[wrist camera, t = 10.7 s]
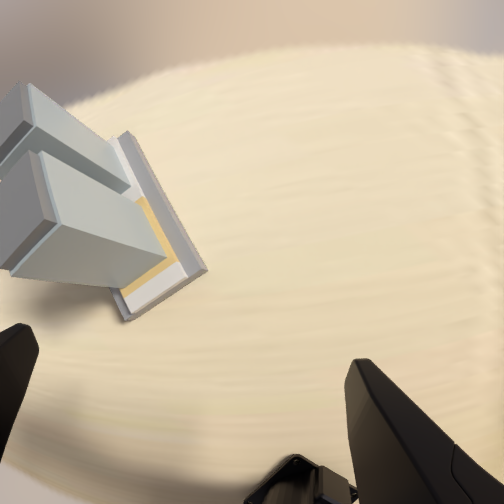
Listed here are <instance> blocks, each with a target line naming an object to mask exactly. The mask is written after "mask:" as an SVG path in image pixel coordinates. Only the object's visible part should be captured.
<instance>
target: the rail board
mask: <svg viewBox="0 0 504 504" xmlns="http://www.w3.org/2000/svg"><path fill="white" fill-rule="evenodd" d="M107 142H108V143H109V144H110V145H112V146H113V147H114V149H115V152H116V154H117V156H118V158H119V160H120V163H121V165H122V167H123V169H124V171H125V173H126V176H127V178H128V180H129V182H130V184H131V187H130V188H129V189H127V190H126V191H125V192H124V193H122V194H121V195H122V196H124V197H126V198H128V199H129V200H131V201H133V202H135V203H137V204H139V205H140V206H141V207H142V209H143V211H144V213H145V215H146V217H147V219H148V221H149V223H150V225H151V227H152V229H153V231H154V233H155V235H156V237H157V239H158V240H159V242H160V244H161V246H162V248H163V250H164V252H165V254H166V256H167V258H166V259H164V260H163V261H162V262H160V263H159V264H157V265H156V266H155V267H153V268H152V269H150V270H149V271H148V272H146V273H145V274H143V275H142V276H141V277H139V278H138V279H136V280H135V281H134V282H132V283H131V284H130V285H128V286H127V287H125V288H113V287H109V288H110V291H111V293H112V295H113V297H114V299H115V301H116V304H117V306H118V308H119V310H120V312H121V314H122V316H123V318H124V320H125V321H126V320H135V319H136V318H138V317H139V316H141V315H142V314H144V313H145V312H147V311H148V310H150V309H151V308H153V307H154V306H156V305H157V304H159V303H160V302H162V301H163V300H165V299H166V298H168V297H169V296H171V295H172V294H174V293H175V292H177V291H178V290H180V289H181V288H183V287H184V286H186V285H187V284H189V283H190V282H192V281H193V280H195V279H196V278H198V277H199V276H201V275H202V274H204V273H205V272H207V271H208V269H207V267H206V266H205V264H204V262H203V260H202V259H201V257H200V255H199V253H198V252H197V250H196V248H195V246H194V245H193V243H192V241H191V239H190V238H189V236H188V234H187V232H186V231H185V229H184V227H183V225H182V224H181V222H180V220H179V218H178V216H177V215H176V213H175V211H174V209H173V207H172V206H171V204H170V202H169V200H168V198H167V196H166V195H165V193H164V191H163V189H162V187H161V185H160V184H159V182H158V180H157V178H156V176H155V174H154V172H153V170H152V169H151V167H150V165H149V163H148V161H147V159H146V157H145V155H144V153H143V152H142V150H141V148H140V146H139V144H138V142H137V140H136V138H135V137H134V136H133V135H132V134H131V133H130V132H129V131H126V132H125V133H123V134H122V135H121V136H120V137H118V138H116V137H115V136H114V135H113V136H112V137H111V138H110V139H109V140H107Z"/></svg>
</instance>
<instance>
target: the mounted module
mask: <svg viewBox="0 0 504 504" xmlns="http://www.w3.org/2000/svg"><path fill="white" fill-rule="evenodd" d="M28 150H30V151H32V152H34V153H35V154H38V153H39V152H40V151H41V150H42V151H44V152H46V153H47V154H49V155H51V156H53V157H55V158H56V159H58V160H60V161H62V162H63V163H65V164H67V165H69V166H70V167H72V168H74V169H76V170H78V171H79V172H81V173H83V174H85V175H86V176H88V177H90V178H92V179H94V180H95V181H97V182H99V183H101V184H103V185H104V186H106V187H108V188H110V189H111V190H113V191H115V192H117V193H119V194H120V195H121V194H122V193H124V192H125V191H126V190H127V189H129V188H130V187H131V184H130V182H129V180H128V178H127V176H126V173H125V171H124V169H123V167H122V165H121V163H120V160H119V158H118V156H117V154H116V152H115V149H114V147H113V146H112V145H110V144H109V143H108V142H107V141H105V140H104V139H103V138H101V137H100V136H99V135H97V134H96V133H95V132H93V131H92V130H91V129H90V128H88V127H87V126H86V125H84V124H83V123H82V122H80V121H79V120H78V119H76V118H75V117H74V116H72V115H71V114H70V113H69V112H67V111H66V110H65V109H63V108H62V107H61V106H59V105H58V104H57V103H55V102H54V101H53V100H52V99H50V98H49V97H48V96H46V95H45V94H44V93H42V92H41V91H40V90H38V89H37V88H36V87H34V86H33V85H32V84H31V83H29V84H28V85H27V86H26V85H24V84H23V83H22V82H21V81H19V82H18V83H17V84H16V85H15V86H14V87H13V88H12V90H10V92H9V93H8V94H7V95H6V96H5V97H4V98H3V99H2V101H1V102H0V180H2V179H3V178H4V177H5V176H6V175H7V173H8V172H9V171H10V170H11V169H12V167H13V166H14V165H15V164H16V163H17V162H18V161H19V160H20V158H21V157H22V156H23V155H24V154H25V153H26V152H27V151H28Z"/></svg>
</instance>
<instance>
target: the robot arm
mask: <svg viewBox="0 0 504 504" xmlns="http://www.w3.org/2000/svg"><path fill="white" fill-rule="evenodd" d="M38 354H39V346H38V343H37V341H36V338H35V336H34V333H33V331H32V329H31V327H30V326H29V325H26V324H22V323H17V324H15V325H13V326H11V327H9V328H8V329H6V330H4V331H2V332H0V462H1V459H2V456H3V453H4V450H5V447H6V444H7V441H8V438H9V435H10V432H11V430H12V427H13V424H14V421H15V419H16V416H17V414H18V411H19V409H20V406H21V404H22V401H23V399H24V396H25V393H26V390H27V387H28V384H29V381H30V378H31V375H32V372H33V369H34V366H35V363H36V360H37V357H38ZM344 389H345V401H346V414H347V429H348V440H349V446H350V451H351V457H352V462H353V468H354V474H355V480H356V485H357V488H356V487H354V486H352V485H351V484H349V483H348V480H347V479H345V478H343V477H342V476H340V475H338V474H337V473H335V472H333V471H331V470H330V469H328V468H326V467H325V466H318V465H316V464H315V463H313V462H312V461H310V460H308V459H307V458H305V457H304V456H302V455H300V454H295V455H293V456H291V457H290V458H289V459H288V460H287V461H286V462H285V463H284V464H283V465H282V466H281V467H280V468H279V469H278V470H277V471H276V472H275V473H274V474H273V475H271V476H270V477H269V478H268V479H267V480H266V481H265V482H264V483H263V484H262V485H260V486H259V487H258V488H257V489H256V490H255V491H254V492H252V493H251V494H250V495H249V496H248V497H247V498H246V499H245V500H244V504H250V503H249V502H252V503H253V504H352V503H354V502H355V501H356V500H357V499H358V498H359V504H504V485H503V484H502V483H501V482H499V481H498V480H497V479H495V478H494V477H493V476H492V475H490V474H489V473H488V472H487V471H485V470H484V469H483V468H482V467H481V466H479V465H478V464H477V463H476V462H475V461H474V460H473V459H472V458H471V457H470V456H469V455H467V454H466V453H465V452H464V451H463V450H462V449H461V448H460V447H459V446H458V445H457V444H454V441H453V440H452V439H451V438H450V437H449V436H448V435H447V434H446V433H445V432H444V431H443V430H442V429H441V428H440V427H439V426H438V425H437V424H436V423H435V422H434V421H433V420H431V419H430V418H429V417H428V416H427V415H426V414H425V413H424V412H423V411H422V410H421V409H420V408H419V407H418V406H417V405H416V404H415V403H414V402H413V401H412V400H411V399H410V398H409V397H408V396H407V395H406V394H405V393H404V392H403V391H402V390H401V389H400V388H399V387H398V386H397V385H396V384H395V383H394V382H393V381H392V380H391V379H389V378H388V377H387V376H386V375H385V374H384V373H383V372H382V371H381V370H380V369H379V368H378V367H377V366H376V365H375V364H374V363H373V362H372V361H371V360H370V359H367V358H363V359H354V360H353V361H352V363H351V365H350V368H349V371H348V374H347V377H346V379H345V385H344ZM295 459H298V460H300V462H297V463H296V462H294V460H295ZM353 493H356V494H355V495H351V494H353Z"/></svg>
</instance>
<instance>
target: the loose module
mask: <svg viewBox="0 0 504 504" xmlns="http://www.w3.org/2000/svg"><path fill="white" fill-rule="evenodd" d="M166 258H167V256H166V254H165V252H164V250H163V248H162V246H161V244H160V242H159V240H158V239H157V237H156V235H155V233H154V231H153V229H152V227H151V225H150V223H149V221H148V219H147V217H146V215H145V213H144V211H143V209H142V207H141V206H140V205H139V204H137V203H135V202H133V201H131V200H129V199H128V198H126V197H124V196H122V195H120V194H119V193H117V192H115V191H113V190H111V189H110V188H108V187H106V186H104V185H103V184H101V183H99V182H97V181H95V180H94V179H92V178H90V177H88V176H86V175H85V174H83V173H81V172H79V171H78V170H76V169H74V168H72V167H70V166H69V165H67V164H65V163H63V162H62V161H60V160H58V159H56V158H55V157H53V156H51V155H49V154H47V153H46V152H44V151H42V150H41V151H40V152H39V153H38V154H35V153H34V152H32V151H30V150H28V151H27V152H26V153H25V154H24V155H23V156H22V157H21V158H20V160H19V161H18V162H17V163H16V164H15V165H14V166H13V167H12V169H11V170H10V171H9V172H8V173H7V175H6V176H5V177H4V178H3V179H2V181H1V182H0V269H5V270H9V271H10V275H11V277H18V278H26V279H34V280H43V281H52V282H61V283H71V284H80V285H91V286H101V287H113V288H125V287H127V286H128V285H130V284H131V283H132V282H134V281H135V280H136V279H138V278H139V277H141V276H142V275H143V274H145V273H146V272H148V271H149V270H150V269H152V268H153V267H155V266H156V265H157V264H159V263H160V262H162V261H163V260H164V259H166Z"/></svg>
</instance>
